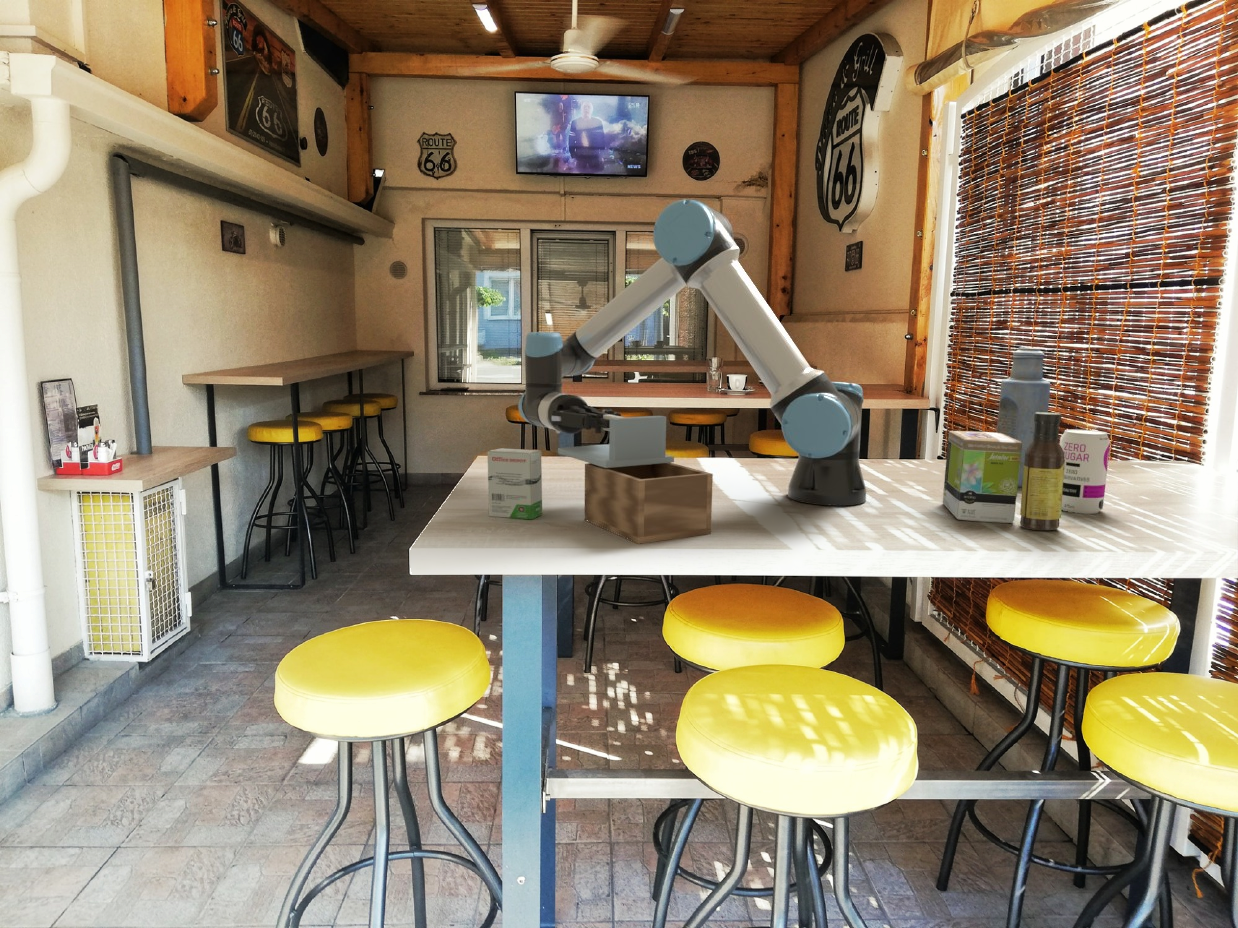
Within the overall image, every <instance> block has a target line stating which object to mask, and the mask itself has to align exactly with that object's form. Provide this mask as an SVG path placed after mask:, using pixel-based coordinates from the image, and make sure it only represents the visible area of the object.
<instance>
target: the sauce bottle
mask: <svg viewBox="0 0 1238 928" xmlns="http://www.w3.org/2000/svg"><path fill="white" fill-rule="evenodd" d="M1034 421H1035V432H1034V440H1033V442H1032V443H1031V444H1030V445H1029V447H1028V448H1027V450H1026V452H1025V464H1024V469H1023V482H1022V487H1021V498H1020V500H1021V501H1020V511H1019V515H1020V521H1019V524H1020V527H1022V528H1023V529H1026V530H1031V531H1054V530H1058V529H1059V527H1060V519H1061V518H1062V510H1061V507H1062V492H1063V480H1064V466H1065V459H1064V458H1065V456H1064V451H1063V449H1062V448H1061V446H1060V441H1059V439H1060V435H1059V433H1060V424H1061V422H1062V413H1058V412H1048V413H1044V412H1036V413H1035V416H1034Z"/></svg>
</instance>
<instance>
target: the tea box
mask: <svg viewBox="0 0 1238 928" xmlns="http://www.w3.org/2000/svg"><path fill="white" fill-rule="evenodd" d="M946 447H947V450H946V459H945V460H946V461H945V471H944V483H943V491H942V492H943V493H942V504H943V505H944V506H945V507H946V508H947V509H948V511H950V513H951V514H952V515H953V516H954V517H955V518H956V519H957V520H958V521H959V520H960V521H961V520H962V521H969V522H970V521H971V522H972V521H973V522H984V523H985V522H986V523H988V522H989V523H1002V524H1003V523H1004V524H1005V523H1006V524H1007V523H1009V524H1013V523H1014V521H1015V516H1016V515H1015V513H1016V506H1017V495H1018V488H1019V486H1018V478H1019V469H1020V460H1021V451H1022V442H1020V441H1018V440H1016V439H1013V438H1011V437H1009V436H1006V435H1004V434H1002V433H997V432H990V431H989V432H988V431H969V430H968V431H965V430H962V431H961V430H949V431H948V439H947V445H946Z"/></svg>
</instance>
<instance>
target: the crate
mask: <svg viewBox="0 0 1238 928" xmlns="http://www.w3.org/2000/svg"><path fill="white" fill-rule="evenodd" d="M713 477H714V474H713V473H710V472H708V471H707V472H706V471H703V470H700V469H695V468H692V467H688V466H685V465H682V464H681V465H680V464H677V463H674V462H671V463H659V464H647V465H636V466H624V467H612V468H604V467H601V466H597V465H594V464H591V463H588V462H586V463H584V521H585V520H588V521H589V522H588V521H587V522H588V523H590V522H592V523H594V524H596V525H595V526H597V525H599V526H600V527H599V526H598V527H599V528H601V527H603V528H605V529H604V530H606V529H608V530H610V531H612V532H611V533H613V532H615V533H617V534H619V535H621V536H620V537H622V538H624V537H625V538H624V539H626V538H628V539H629V540H628V539H627V540H628V541H631V540H632V541H631V542H632V543H633V542H634V543H636V544H637V543H638V544H637V545H639V544H640V543H641V544H647V543H652V542H661V541H669V540H675V539H682V538H689V537H696V536H705V535H711V534H712V514H713V513H712V509H713V506H712V505H713V479H714V478H713ZM592 523H591V524H592ZM594 524H593V525H594ZM603 528H602V529H603ZM608 530H607V531H608ZM610 531H609V532H610ZM615 533H614V534H615ZM617 534H616V535H617ZM619 535H618V536H619Z"/></svg>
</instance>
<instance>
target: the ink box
mask: <svg viewBox="0 0 1238 928" xmlns="http://www.w3.org/2000/svg"><path fill="white" fill-rule="evenodd" d="M486 452H487V454H486V455H487V477H488V478H487V485H488V486H487V487H488V488H487V490H488V494H487V495H488V516H489V517H495V518H496V517H497V518H508V519H509V518H510V519H521V520H534V519H535V518H537V517H539V516H542V514H543V494H542V493H543V486H542V485H543V481H542V480H543V479H542V478H543V477H542V476H543V475H542V473H543V471H542V469H543V468H542V451H541V450H540V449H539V450H537V449H524V448H522V449H518V448H517V449H516V448H502V447H501V448H496V449H490V450H489V451H486Z"/></svg>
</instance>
